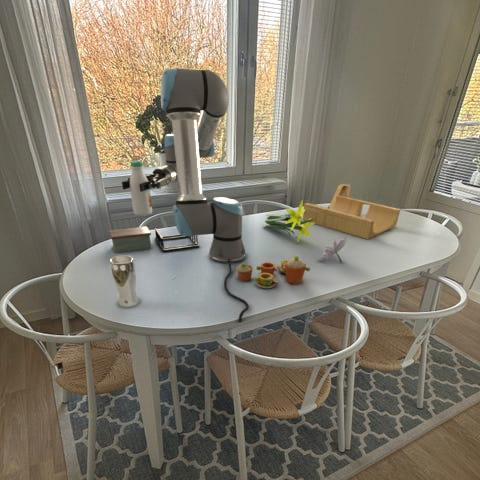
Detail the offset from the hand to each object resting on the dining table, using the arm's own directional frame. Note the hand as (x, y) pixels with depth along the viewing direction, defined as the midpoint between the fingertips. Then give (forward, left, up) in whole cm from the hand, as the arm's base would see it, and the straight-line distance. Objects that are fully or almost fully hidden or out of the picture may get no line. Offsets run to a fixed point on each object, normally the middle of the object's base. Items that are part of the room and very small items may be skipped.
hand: (131, 186), depth 134 cm
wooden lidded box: (+4, +3, -26) cm, 26 cm away
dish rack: (+2, -16, -26) cm, 31 cm away
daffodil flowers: (-6, -67, -26) cm, 73 cm away
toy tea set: (-46, -40, -26) cm, 66 cm away
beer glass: (-44, +12, -26) cm, 52 cm away
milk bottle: (+3, -3, -12) cm, 13 cm away
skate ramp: (0, -113, -26) cm, 116 cm away
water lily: (-38, -72, -26) cm, 86 cm away
